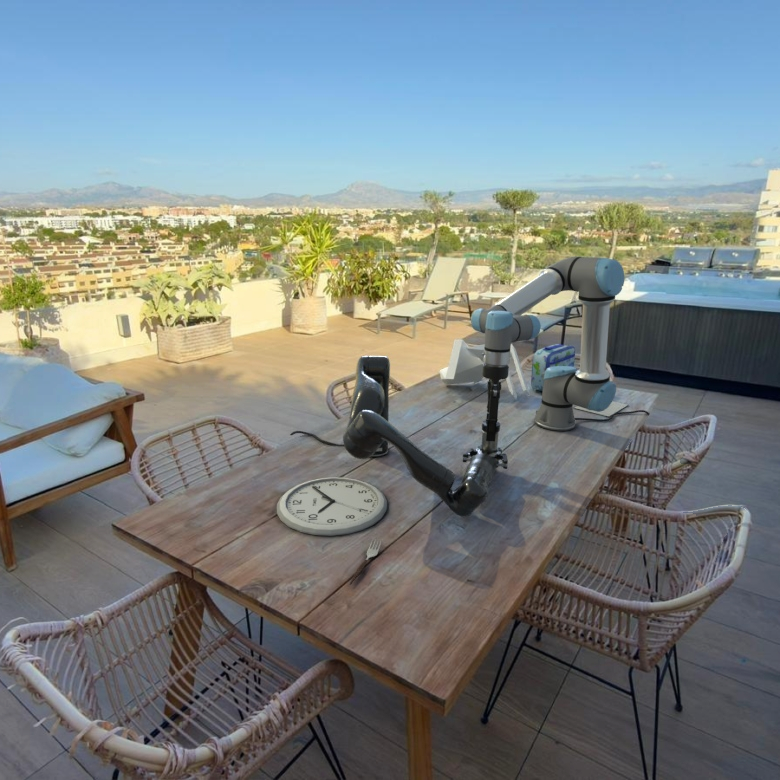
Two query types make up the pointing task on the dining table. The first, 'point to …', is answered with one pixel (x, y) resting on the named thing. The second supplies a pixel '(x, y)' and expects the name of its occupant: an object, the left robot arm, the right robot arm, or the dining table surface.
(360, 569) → the fork
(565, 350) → the lunch box
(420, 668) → the dining table surface
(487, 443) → the jar
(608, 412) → the invitation card
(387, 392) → the left robot arm
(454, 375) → the white plastic object
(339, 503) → the wall clock
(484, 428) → the lid
